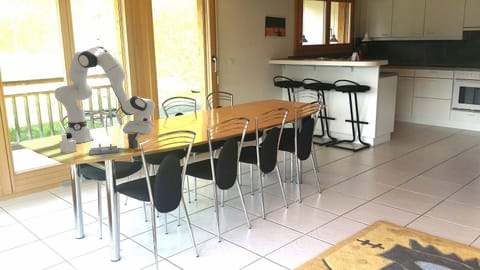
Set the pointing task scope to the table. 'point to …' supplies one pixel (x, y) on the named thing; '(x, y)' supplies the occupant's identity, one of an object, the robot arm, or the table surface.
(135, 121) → the robot arm
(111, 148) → the pin dock
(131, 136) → the plug housing
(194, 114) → the table surface
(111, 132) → the table surface
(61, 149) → the medicine bottle
